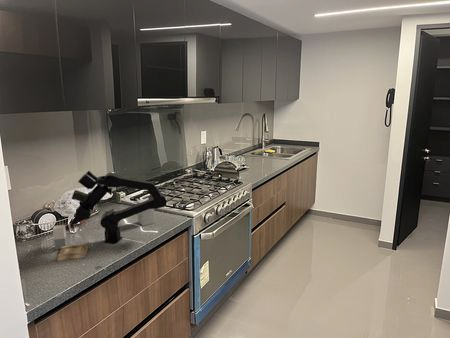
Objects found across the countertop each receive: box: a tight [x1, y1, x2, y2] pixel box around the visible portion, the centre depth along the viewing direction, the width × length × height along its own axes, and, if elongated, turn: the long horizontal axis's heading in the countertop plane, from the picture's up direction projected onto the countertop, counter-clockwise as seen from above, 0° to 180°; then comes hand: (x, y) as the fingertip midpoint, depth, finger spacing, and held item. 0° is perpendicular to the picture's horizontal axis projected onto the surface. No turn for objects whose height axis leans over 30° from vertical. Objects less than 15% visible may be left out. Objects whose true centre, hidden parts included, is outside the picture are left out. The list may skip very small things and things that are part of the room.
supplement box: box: [136, 197, 156, 227], centre depth 185 cm, size 7×7×13 cm
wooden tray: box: [57, 243, 89, 262], centre depth 151 cm, size 11×11×2 cm
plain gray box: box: [52, 224, 69, 251], centre depth 157 cm, size 4×4×10 cm
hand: (73, 220), depth 157 cm, fingers open, 9 cm apart
